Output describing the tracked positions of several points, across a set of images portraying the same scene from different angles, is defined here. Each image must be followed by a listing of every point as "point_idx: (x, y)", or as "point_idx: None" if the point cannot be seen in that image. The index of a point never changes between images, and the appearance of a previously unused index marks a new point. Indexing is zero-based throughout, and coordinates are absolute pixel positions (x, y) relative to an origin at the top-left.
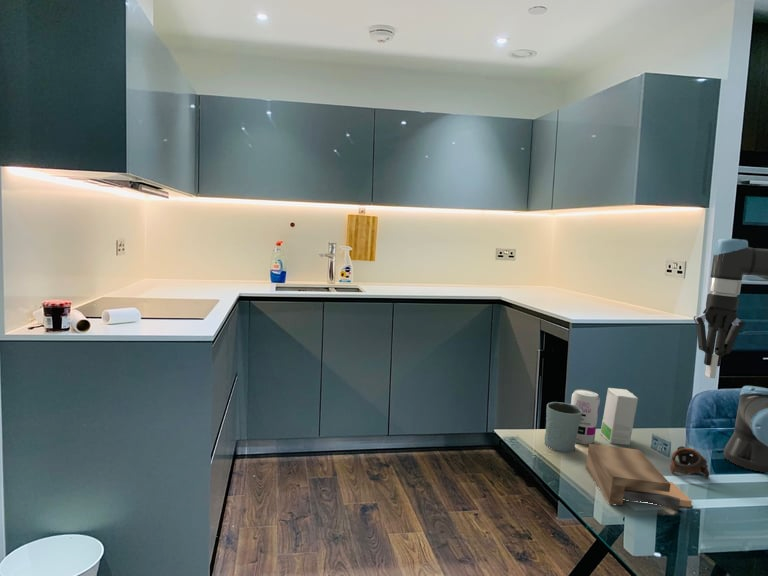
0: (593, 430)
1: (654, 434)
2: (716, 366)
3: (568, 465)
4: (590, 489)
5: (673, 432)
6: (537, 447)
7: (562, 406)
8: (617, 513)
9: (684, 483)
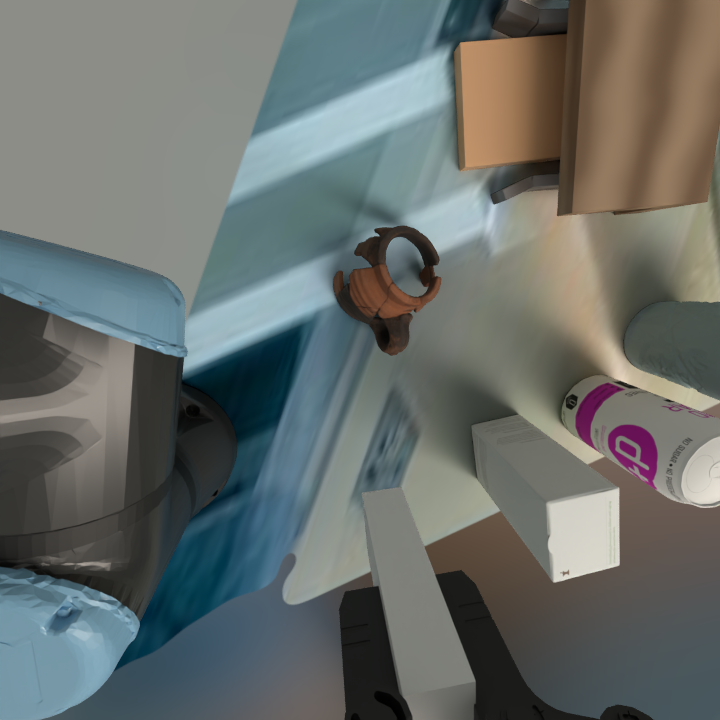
0: (598, 396)
1: None
2: (382, 566)
3: (676, 214)
4: None
5: (318, 572)
6: None
7: None
8: None
9: (413, 214)
